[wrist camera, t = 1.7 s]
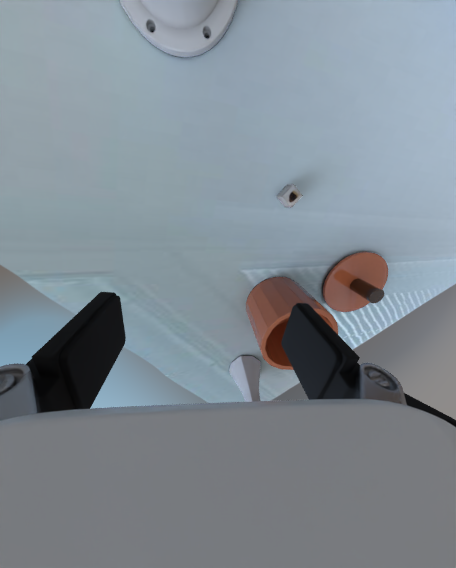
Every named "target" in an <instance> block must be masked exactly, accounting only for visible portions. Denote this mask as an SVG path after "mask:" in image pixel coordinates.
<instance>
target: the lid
mask: <svg viewBox="0 0 456 568" xmlns="http://www.w3.org/2000/svg"><path fill="white" fill-rule="evenodd" d="M387 277H388V266H387V263H386V261H385V260H384V259H383V258H382V257H381V256H380V255H378V254H375V253H372V252H359V253H355V254H352V255H350V256H348V257H346V258H344V259H343V260H341V261H340V262H339V263H338V264H337V265H335V267H334V268H333V269H332V270H331V271H330V273H329V274H328V276H327V278H326V280H325V283H324V286H323V297H324V300H325V302H326V303H327V304H328V305H329V306H330V307H331V308H332V309H334V310H336V311H340V312H349V311H354V310H357V309H360V308H362V307H364V306H365V305H367V304H369V303H370V302H371V303H377V302H379V301H380V300H381V299H382V298H383V296H384V291H383V290H382V289H383V287H384V285H385V283H386V281H387Z"/></svg>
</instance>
